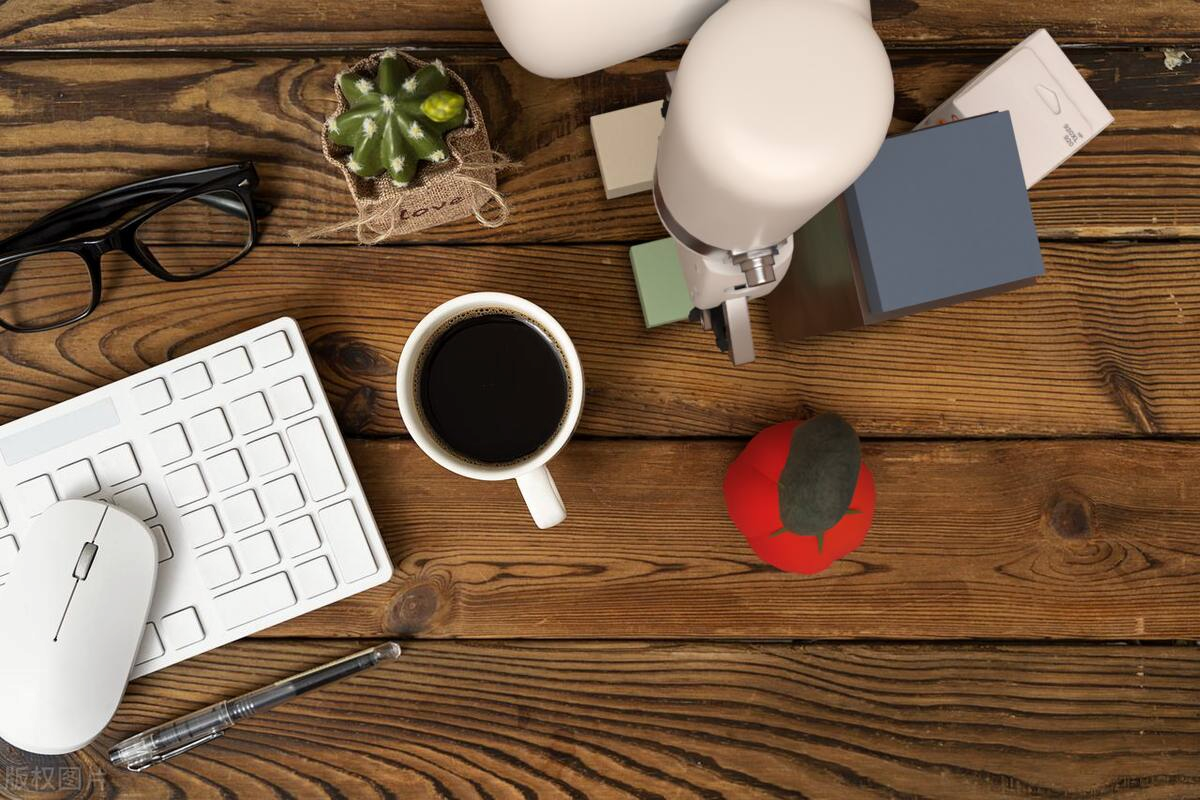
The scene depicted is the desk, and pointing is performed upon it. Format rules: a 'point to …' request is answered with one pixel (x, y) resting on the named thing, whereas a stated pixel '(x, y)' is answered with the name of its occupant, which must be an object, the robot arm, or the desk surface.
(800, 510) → the decorative stone
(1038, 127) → the ink box
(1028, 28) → the desk surface
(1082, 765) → the desk surface
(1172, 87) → the desk surface
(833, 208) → the stand
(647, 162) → the cream pad
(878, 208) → the base pad
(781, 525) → the tomato
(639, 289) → the green pad
